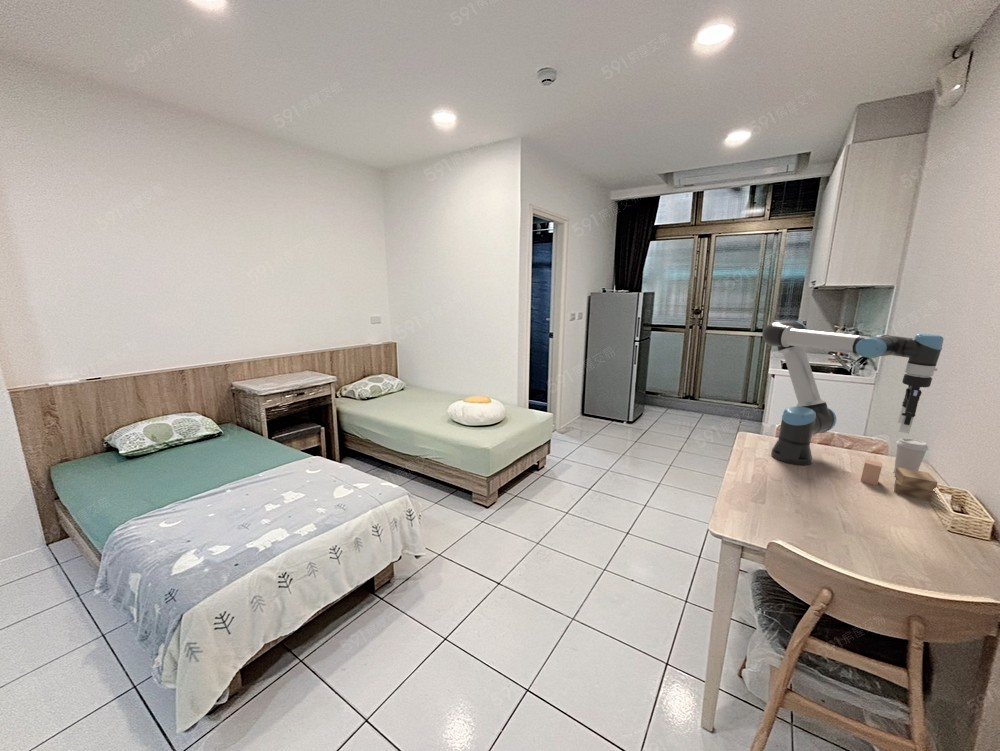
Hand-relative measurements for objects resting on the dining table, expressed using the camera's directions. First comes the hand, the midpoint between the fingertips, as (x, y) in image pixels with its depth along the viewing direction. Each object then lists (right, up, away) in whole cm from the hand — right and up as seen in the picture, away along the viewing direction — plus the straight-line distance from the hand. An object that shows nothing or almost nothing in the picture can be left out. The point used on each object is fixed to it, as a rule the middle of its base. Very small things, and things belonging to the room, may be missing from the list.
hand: (902, 427), depth 157 cm
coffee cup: (+13, -22, +12) cm, 28 cm away
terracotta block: (-8, -23, +6) cm, 25 cm away
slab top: (0, -21, -4) cm, 21 cm away
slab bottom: (0, -25, -3) cm, 25 cm away
